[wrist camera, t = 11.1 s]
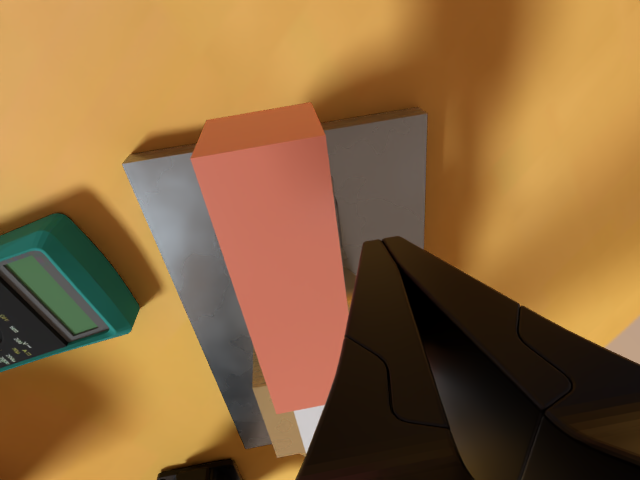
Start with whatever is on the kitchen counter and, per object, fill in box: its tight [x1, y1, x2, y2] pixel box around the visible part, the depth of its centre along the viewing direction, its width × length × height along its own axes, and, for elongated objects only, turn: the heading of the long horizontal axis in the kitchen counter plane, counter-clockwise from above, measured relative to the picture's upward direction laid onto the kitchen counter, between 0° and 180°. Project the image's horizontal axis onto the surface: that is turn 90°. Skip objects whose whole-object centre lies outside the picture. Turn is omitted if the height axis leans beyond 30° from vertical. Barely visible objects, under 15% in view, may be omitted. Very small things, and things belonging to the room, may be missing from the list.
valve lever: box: [190, 102, 349, 453], centre depth 14 cm, size 16×3×3 cm, turn 7°
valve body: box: [122, 107, 427, 458], centre depth 22 cm, size 24×14×8 cm, turn 7°
